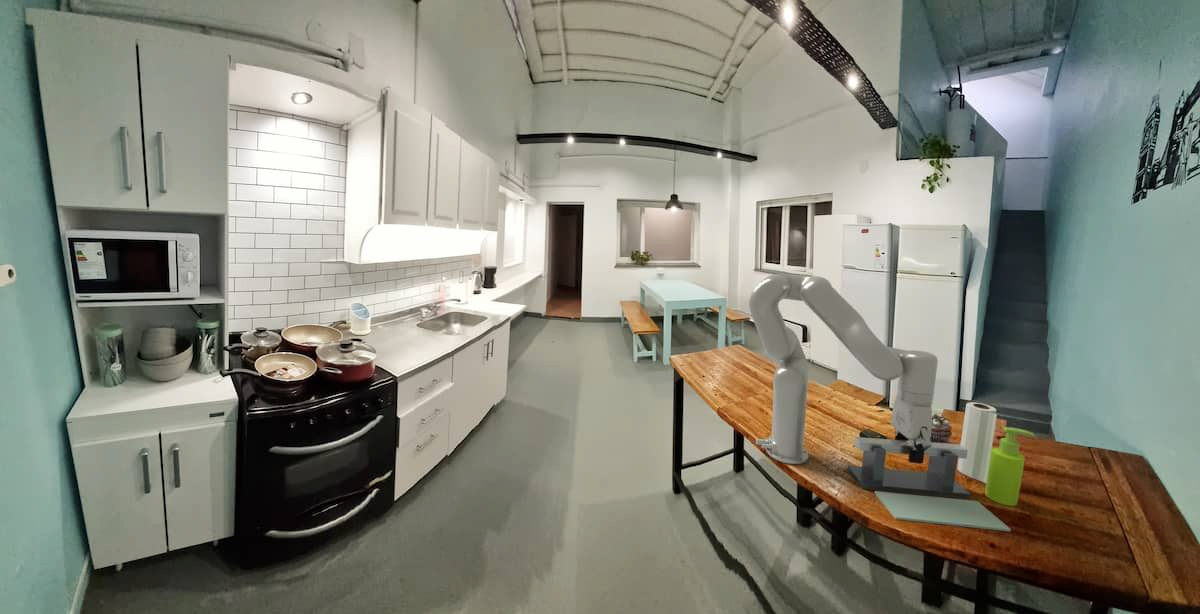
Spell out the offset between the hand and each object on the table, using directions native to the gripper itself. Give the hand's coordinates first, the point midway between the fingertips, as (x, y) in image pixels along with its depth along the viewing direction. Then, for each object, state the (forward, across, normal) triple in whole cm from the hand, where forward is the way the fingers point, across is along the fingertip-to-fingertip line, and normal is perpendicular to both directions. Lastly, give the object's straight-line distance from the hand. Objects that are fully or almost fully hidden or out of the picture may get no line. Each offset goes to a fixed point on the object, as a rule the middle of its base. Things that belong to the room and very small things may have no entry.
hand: (907, 455), depth 104 cm
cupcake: (+9, -26, +22) cm, 35 cm away
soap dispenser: (+9, +3, +22) cm, 24 cm away
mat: (+9, +11, +2) cm, 14 cm away
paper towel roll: (+9, -8, +22) cm, 25 cm away
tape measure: (+9, -24, +2) cm, 25 cm away
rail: (-1, 0, 0) cm, 1 cm away
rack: (+9, 0, 0) cm, 9 cm away
